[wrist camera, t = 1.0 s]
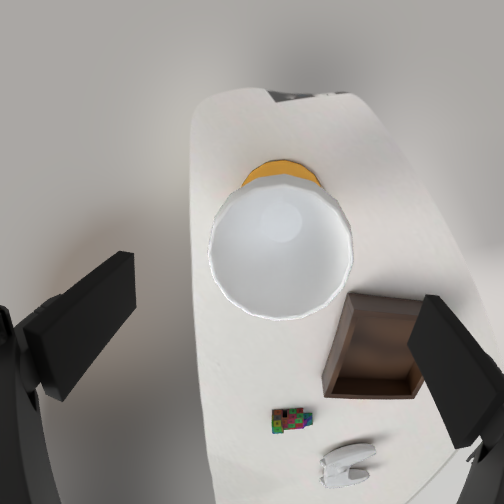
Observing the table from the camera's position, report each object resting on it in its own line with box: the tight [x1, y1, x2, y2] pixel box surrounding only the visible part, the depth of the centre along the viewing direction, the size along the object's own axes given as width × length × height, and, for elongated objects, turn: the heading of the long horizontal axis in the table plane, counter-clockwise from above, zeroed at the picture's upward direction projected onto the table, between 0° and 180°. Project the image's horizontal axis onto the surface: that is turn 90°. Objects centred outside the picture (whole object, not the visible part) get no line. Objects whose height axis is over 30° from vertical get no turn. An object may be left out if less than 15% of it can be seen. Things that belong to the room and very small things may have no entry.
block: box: [272, 408, 313, 434], centre depth 42 cm, size 6×4×3 cm
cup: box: [207, 160, 354, 321], centre depth 25 cm, size 9×9×16 cm
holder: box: [322, 293, 424, 399], centre depth 35 cm, size 14×14×4 cm
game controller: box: [319, 443, 376, 488], centre depth 45 cm, size 14×4×10 cm
